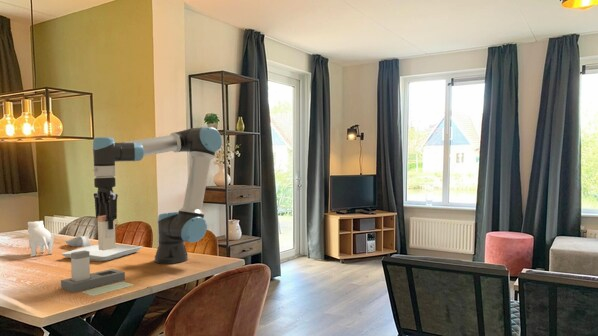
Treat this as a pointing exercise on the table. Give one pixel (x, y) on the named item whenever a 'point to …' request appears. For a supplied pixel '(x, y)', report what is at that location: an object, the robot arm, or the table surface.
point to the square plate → (105, 252)
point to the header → (93, 280)
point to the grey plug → (80, 266)
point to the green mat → (107, 288)
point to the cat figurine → (39, 237)
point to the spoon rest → (79, 241)
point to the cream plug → (102, 240)
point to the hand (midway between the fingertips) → (106, 237)
